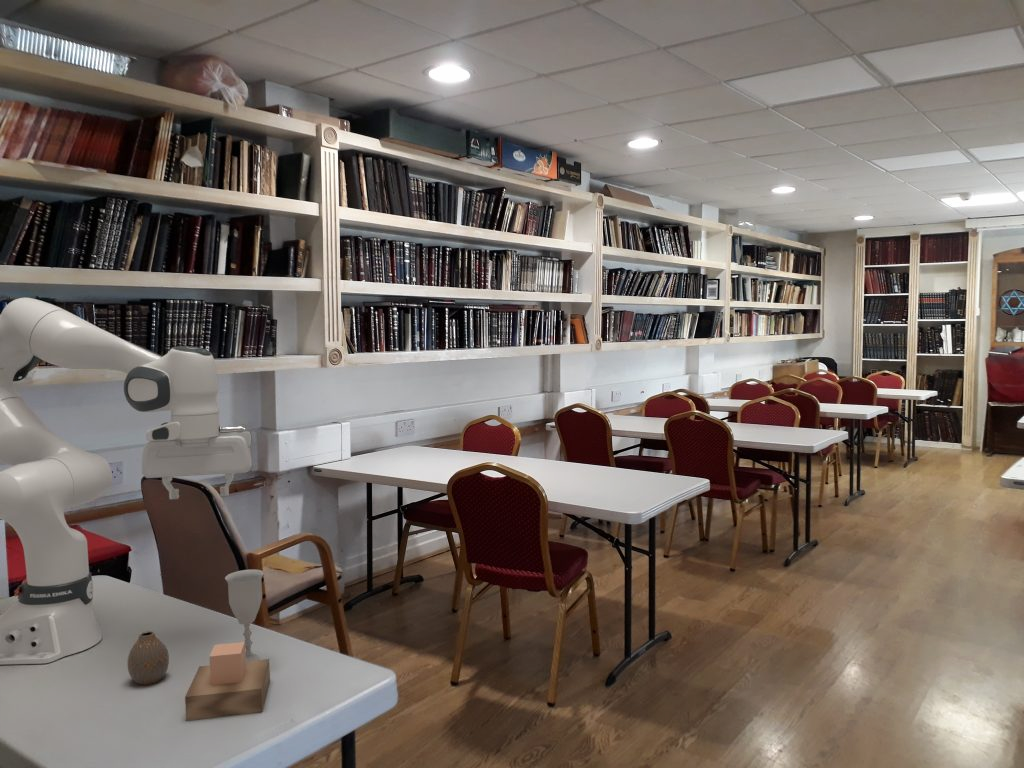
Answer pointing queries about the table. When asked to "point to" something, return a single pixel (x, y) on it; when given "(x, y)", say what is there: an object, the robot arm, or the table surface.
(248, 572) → the chalice
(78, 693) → the table surface
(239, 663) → the block
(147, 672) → the vase
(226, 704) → the board
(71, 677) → the table surface
